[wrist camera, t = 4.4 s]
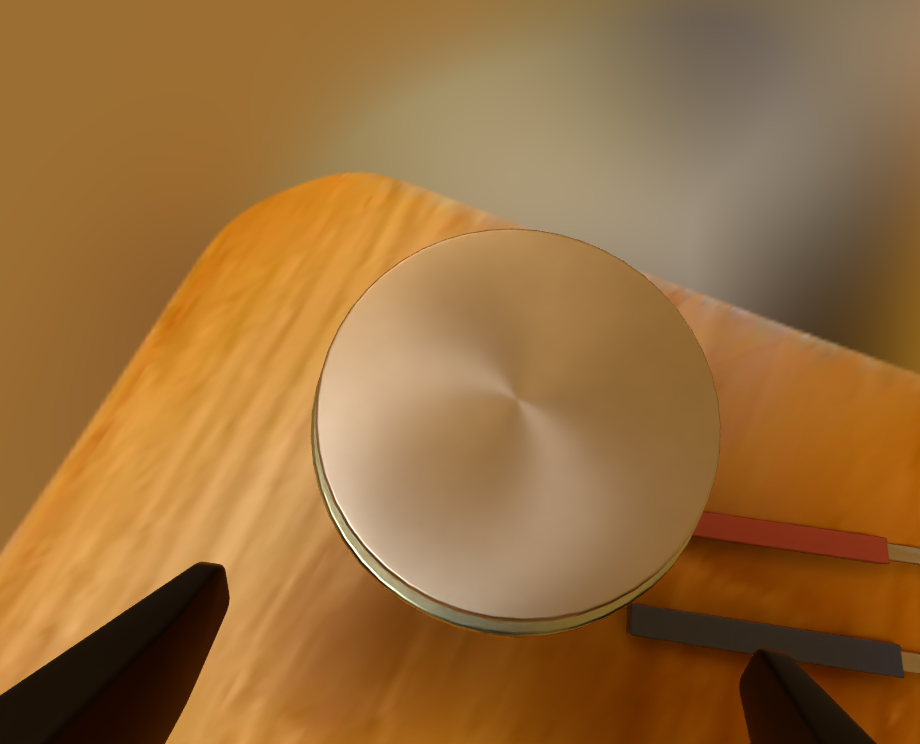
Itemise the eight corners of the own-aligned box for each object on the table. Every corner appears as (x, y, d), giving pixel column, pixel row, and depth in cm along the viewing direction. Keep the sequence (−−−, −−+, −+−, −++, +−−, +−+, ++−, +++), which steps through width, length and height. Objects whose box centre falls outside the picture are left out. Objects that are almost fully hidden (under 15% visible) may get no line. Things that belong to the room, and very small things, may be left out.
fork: (1130, 663, 17) (1149, 666, 17) (1148, 732, 16) (1169, 737, 16) (627, 586, 18) (631, 588, 17) (625, 649, 17) (630, 652, 17)
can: (467, 624, 18) (475, 781, 6) (363, 471, 19) (209, 358, 8) (608, 506, 19) (845, 443, 7) (499, 373, 21) (543, 147, 9)
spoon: (1032, 528, 18) (1050, 528, 18) (1053, 623, 17) (1073, 626, 17) (630, 472, 19) (636, 470, 19) (628, 560, 18) (633, 560, 18)
